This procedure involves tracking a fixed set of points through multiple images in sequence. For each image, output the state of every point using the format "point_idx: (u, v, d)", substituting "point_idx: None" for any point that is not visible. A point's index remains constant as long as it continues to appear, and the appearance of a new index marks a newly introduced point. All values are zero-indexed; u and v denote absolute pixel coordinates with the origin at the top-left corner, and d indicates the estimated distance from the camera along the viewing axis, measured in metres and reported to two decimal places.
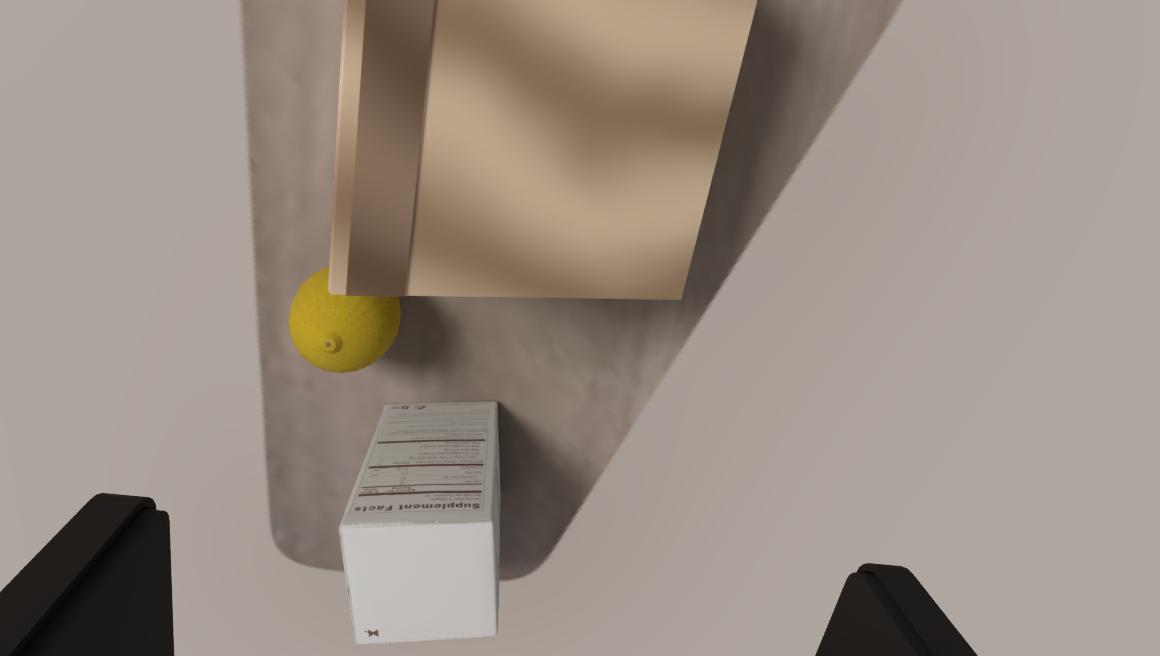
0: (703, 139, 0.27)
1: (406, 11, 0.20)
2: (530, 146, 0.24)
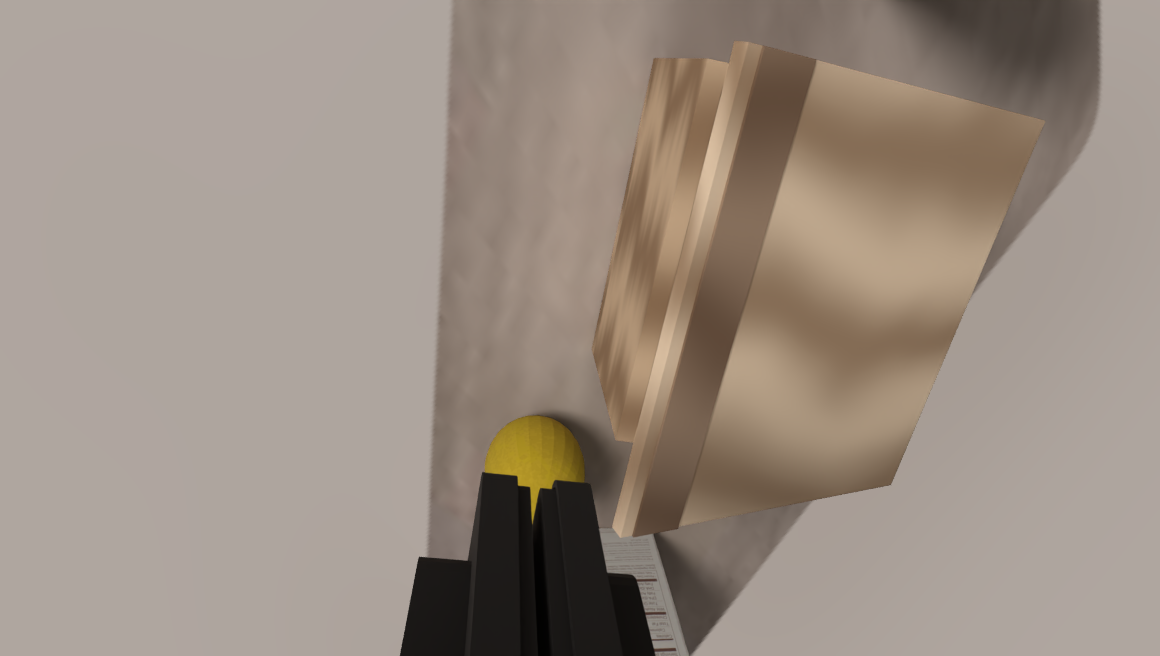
0: (934, 350, 0.28)
1: (726, 299, 0.21)
2: (798, 385, 0.25)
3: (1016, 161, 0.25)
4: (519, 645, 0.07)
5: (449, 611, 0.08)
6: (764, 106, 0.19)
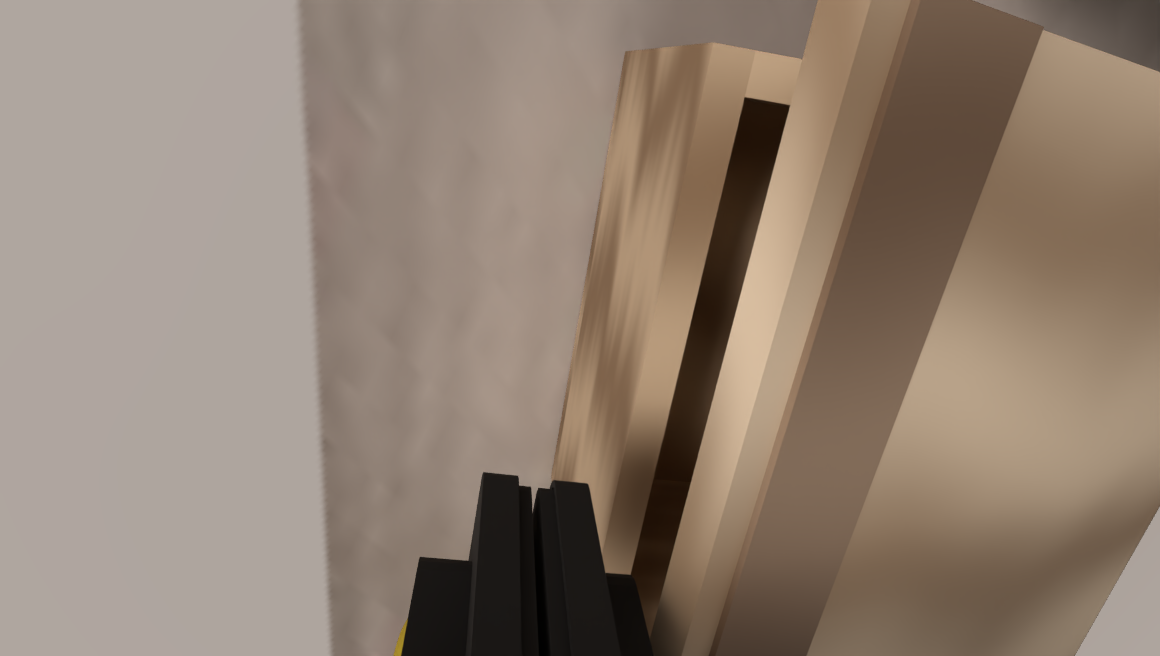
0: (1123, 547, 0.16)
1: (790, 605, 0.09)
2: None
3: None
4: (520, 646, 0.07)
5: (450, 611, 0.08)
6: (905, 162, 0.07)
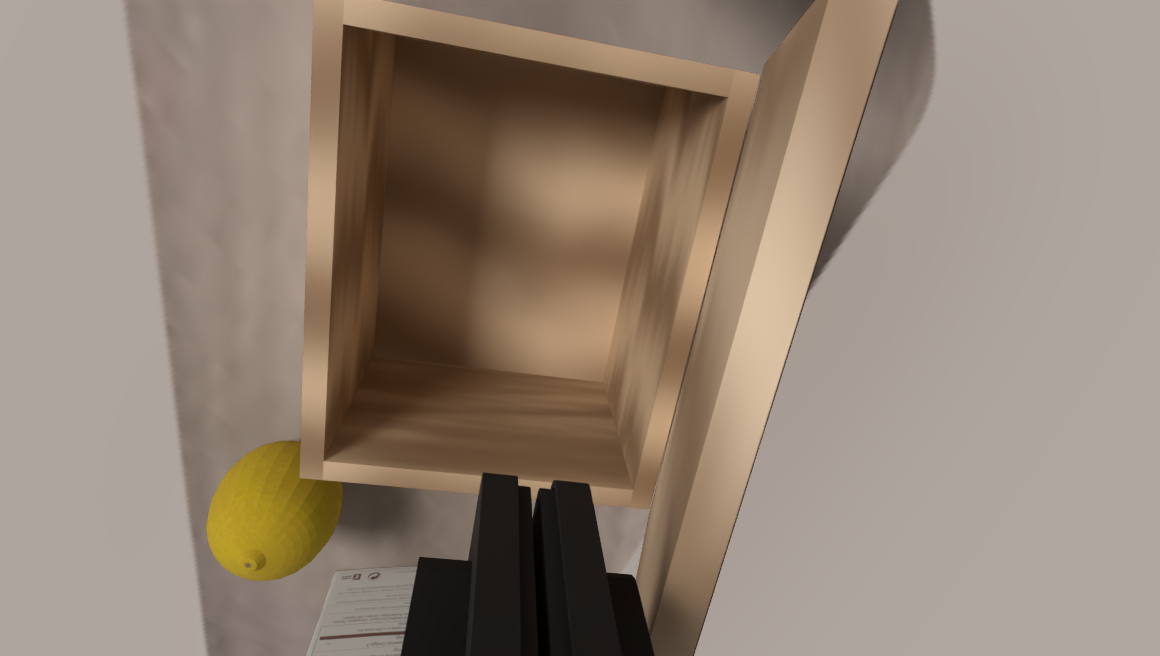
0: None
1: None
2: None
3: None
4: (519, 646, 0.07)
5: (449, 612, 0.08)
6: None
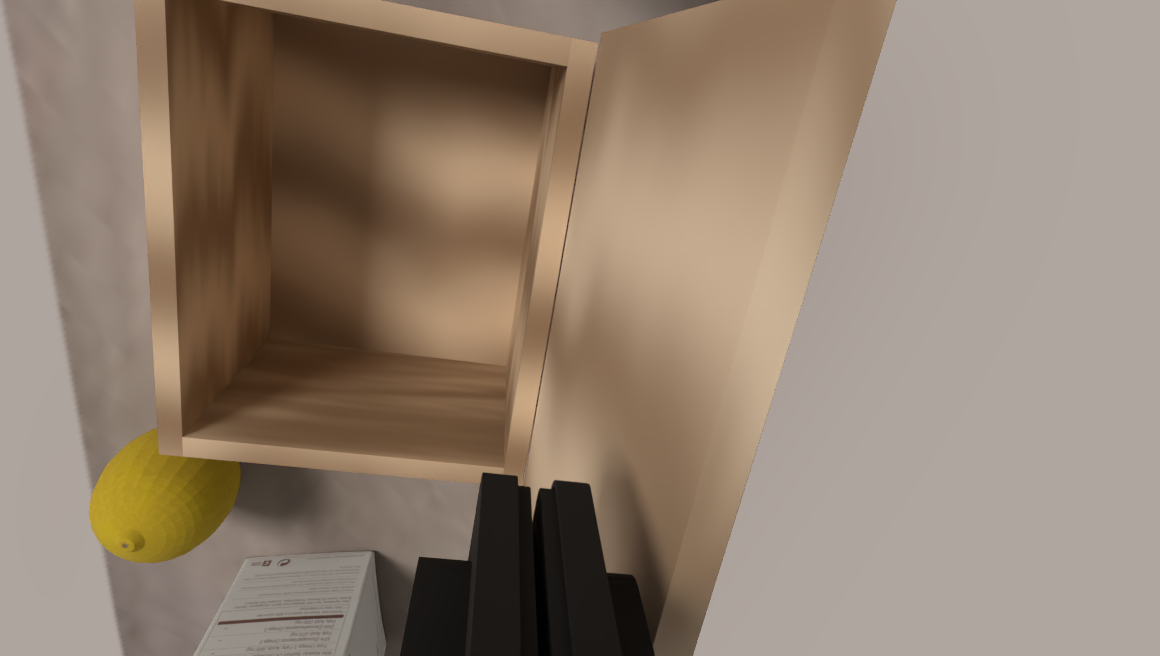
0: None
1: None
2: None
3: None
4: (519, 645, 0.07)
5: (449, 611, 0.08)
6: None
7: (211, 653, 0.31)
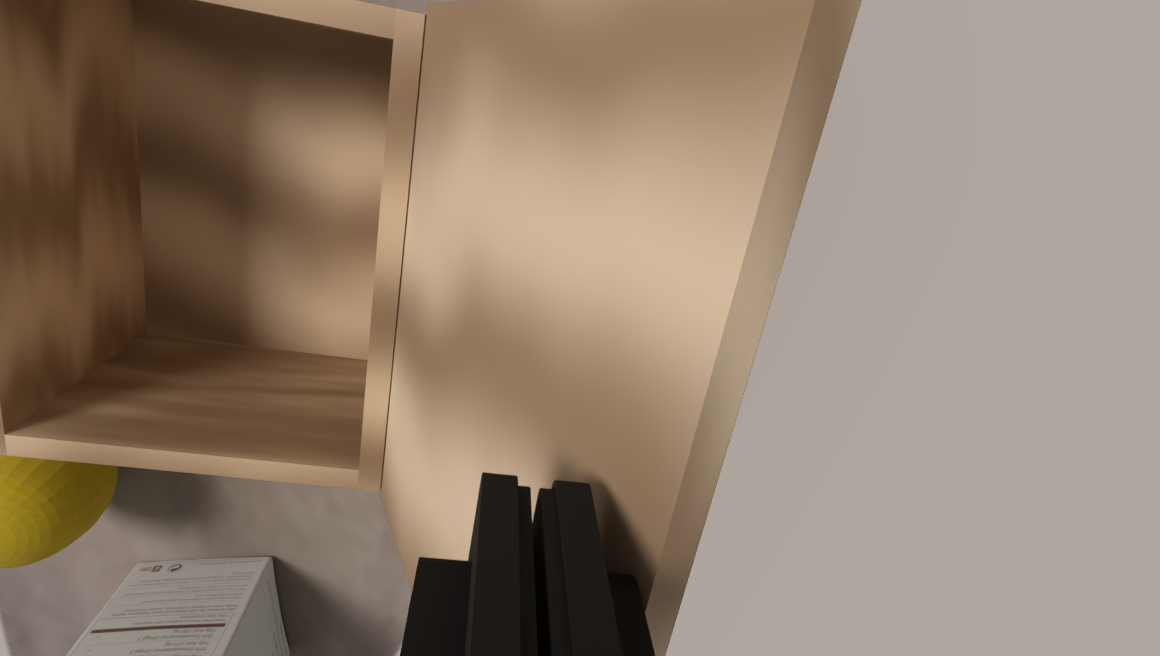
0: None
1: None
2: None
3: None
4: (519, 646, 0.07)
5: (449, 611, 0.08)
6: None
7: None
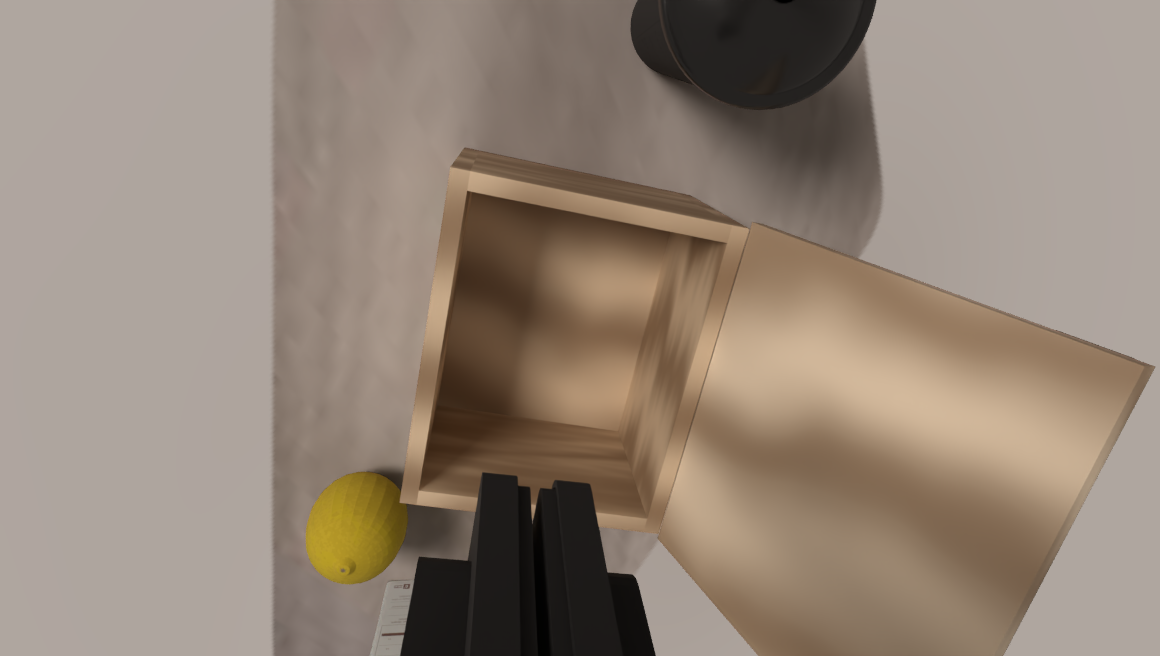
0: None
1: None
2: None
3: None
4: (519, 645, 0.07)
5: (449, 611, 0.08)
6: None
7: None
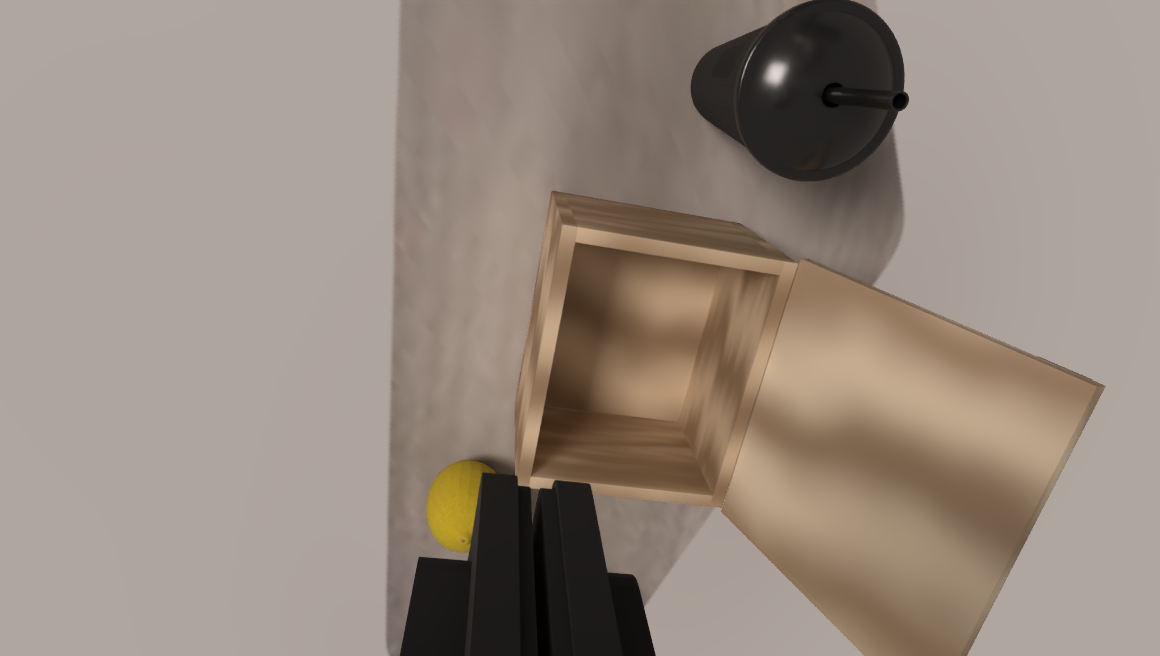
0: None
1: None
2: None
3: None
4: (519, 646, 0.07)
5: (449, 612, 0.08)
6: None
7: None
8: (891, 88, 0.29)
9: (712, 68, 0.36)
